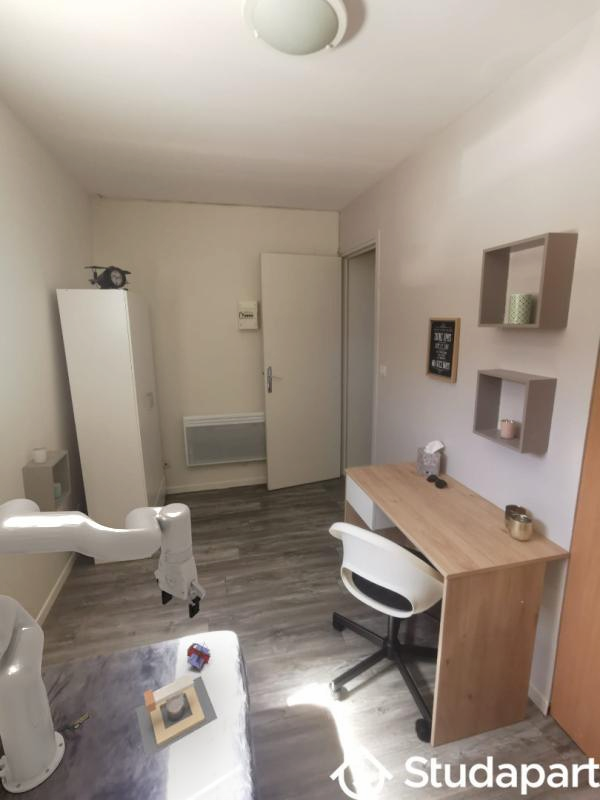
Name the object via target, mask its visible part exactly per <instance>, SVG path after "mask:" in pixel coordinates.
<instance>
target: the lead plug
mask: <svg viewBox="0 0 600 800" xmlns="http://www.w3.org/2000/svg"><path fill="white" fill-rule="evenodd" d="M166 707H167V716H168V719H169V720H170V721H172V722H175V721H178V720H180V719H181V718H182V717H183V715H184V712H185V709H184V698H183V692H182V693H180V694H178V695H176V696H174V697H172V698H170V699H168V700H166Z"/></svg>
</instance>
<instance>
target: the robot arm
mask: <svg viewBox="0 0 600 800" xmlns="http://www.w3.org/2000/svg"><path fill="white" fill-rule="evenodd" d="M191 521H192V520H191V510H190V507H189V506H188V505H187V504H184V503H181V502H180V503H179V502H177V503H176V502H175V503H174V502H173V503H170V504H167V505H165V506H144V507H138V508H135V509H133V510H131V511H130V512H129V513H128V514H127V515H126V518H125V520H124V527H125V528H124V529H122V528H119V529H118V528H111V527H108V526H105V525H101V524H99V523H98V522H96V521H94V520H93V519H92V518H91V517H89V516H88V515H87V514H86V513H83V512H81V511H78V510H71V511H65V510H64V511H41V509H40V507H39V505H38V504H37V502H35V501H33V500H31V499H27V498H15V499H10V500H8V501H6V502H5V503H3V504H0V555H1V556H2V555H4V556H5V555H6V556H10V555H11V556H12V555H24V554H25V555H29V554H43V553H57V552H75V553H76V552H77V553H79V554H82V555H84V556H87V557H92V558H95V559H99V560H102V561H103V560H104V561H109V562H110V561H111V562H121V561H123V562H125V561H134V560H141V559H146V558H149V557H151V556H152V555H154V554H156V553H157V552H158V551H159V549H161V550H160V551H161V552H160V553H161V554H160V555H159V559H158V560H159V561H158V568H157V569H156V570H155V571H154V572H153V574H154V577H155V578H156V583H157V585H158V587H159V591H160V592H161V593H160V594H161V604H162V605H163V606H165V605H167V604H168V603H169V602H170V601H171V600H172V599H173V596H174V597H175V598H178V599H180V600H187V601H188V602H189V604H188V617H189V618H190V619H193V618H194V617H195V616H196V615H197V614H198V613H199V612H200V601H202V600H203V598H204V597H205V595H206V592H207V591H206V589H204V587H202V585H201V584H200V583H199V579H198V571H197V566H196V561H195V560H196V559H195V557H194V556H193V541H192V540H193V539H192V522H191ZM192 594H193V596H194V598H193V597H192ZM44 643H45V635H44V631H43V629H42V627H41V625H40V624H39V623H38V622H37V621H36V620H35V619H34V618H33V616H32V615H31V614H30V613H29V612H28V611H27V610H26V609H25V608H24V607H23V606H22V604H21V603H19V601H17V600H16V599H15V598H14V597H11V596H9V595H3V594H0V739H1V743H2V747H3V751H4V755H2V756H1V758H0V769H1V770H0V778H1V782H2V786H3V787H4V789H5V790H6V791H8V792H10V793H13V794H16V793H17V794H20V793H23V792H24V793H25V792H27V791H30V790H32V789H34V788H37V786H39V785H40V784H42V783H43V782H44V781H46V779H48V778H49V777H50V776H51V775H52V774H53V773H54V771H55V770H56V769H57V768H58V767H59V765H60V763H61V761H62V760H63V756H64V755H65V749H66V747H65V746H66V744H65V740H64V735H62V734H61V732H58V731H55V729H54V723H53V719H52V713H51V709H50V708H51V707H50V704H49V698H48V694H47V689H46V686H45V683H44V681H43V679H42V661H43V650H44Z"/></svg>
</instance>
